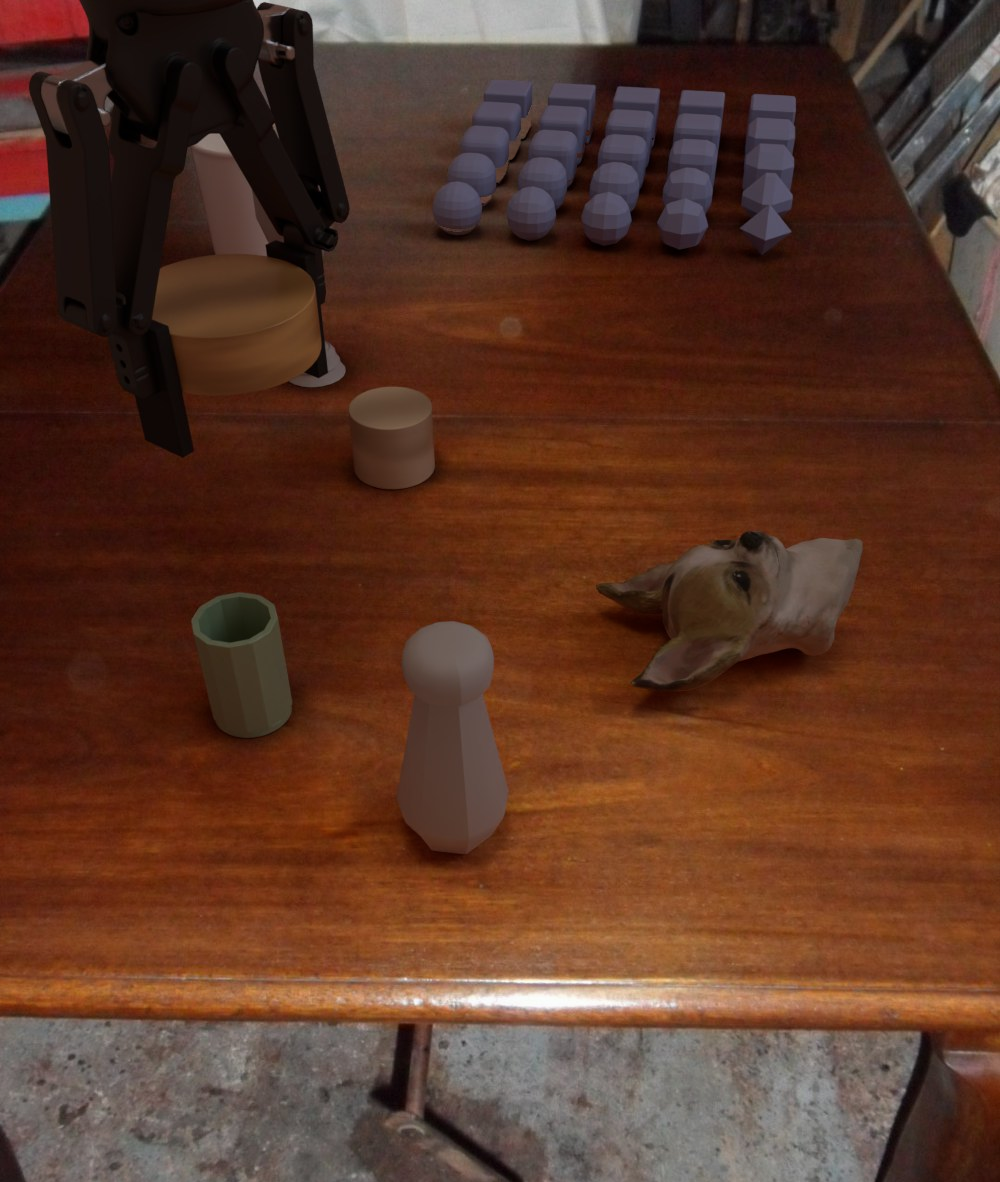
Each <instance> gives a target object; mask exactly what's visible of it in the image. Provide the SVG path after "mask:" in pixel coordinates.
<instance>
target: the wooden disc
mask: <svg viewBox="0 0 1000 1182" xmlns="http://www.w3.org/2000/svg"><path fill="white" fill-rule="evenodd" d="M152 320H155V321H157V322H160V323H162V324H165V325H167V326H168V327H169V331H170V336H171V341H172V346H173V351H174V356H175V360H176V365H177V370H178V375H179V380H180V385H181V389H182V394H187V395H192V396H201V397H230V396H239V395H247V394H252V393H258V392H261V391H265V390H269V389H272V388H275V387H279V386H280V385H284V384H286V383H288V382H289V381H290V380H292V379H294V378H296V377H298V376H299V375H301V374H302V373H304V372H305V371H306V370H307V369H309V368H310V367H311V366H312V365H313V364H314V362H315V361H316V360H317V358H318V356H319V354H320V351H321V344H322V342H321V334H320V325H319V316H318V307H317V298H316V289H315V284H314V282H313V280H312V278H311V277H310V276H309V275H308V273H307V272H305V271H304V270H303V269H301V268H300V267H298V266H296V265H294V264H292V263H289V262H287V261H284V260H280V259H277V258H272V257H268V256H261V255H251V254H219V255H215V254H209V255H203V256H197V257H192V258H187V259H184V260H180V261H179V260H178V261H176V262H173V263H170V264H167V265H164V266H162V267H160V271H159V278H158V284H157V290H156V297H155V303H154V309H153V316H152Z"/></svg>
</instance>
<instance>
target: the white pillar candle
mask: <svg viewBox="0 0 1000 1182" xmlns="http://www.w3.org/2000/svg"><path fill="white" fill-rule="evenodd" d="M433 419H434V417H433V404H432V401H431V400H430V398H429V397H428V396H427V395H426V394H424V393H423V392H421V391H419V390H417V389H413V388H409V387H404V386H382V387H376V388H372V389H369V390H366V391H364V392H361V393H360V394H358V395H357V396H355V397H354V398H353V399H352V400H351V402H350V403H349V405H348V421H349V430H350V431H349V432H350V439H351V440H350V441H351V450H352V461H353V470H354V473H355V476H356V477H357V478H358V479H359V480H360V481H361V482H362V483H364V484H365V485H367V486H370V487H373V488H376V489H382V490H403V489H409V488H412V487H415V486H417V485H418V486H419V485H420V484H422V483H424V482H425V481H426V480H428V479H429V478H431V476H432V474H433V473H434V471H435V469H436V460H435V459H436V458H435V439H434V438H435V436H434V420H433Z"/></svg>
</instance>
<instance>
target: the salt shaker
mask: <svg viewBox="0 0 1000 1182" xmlns="http://www.w3.org/2000/svg"><path fill="white" fill-rule="evenodd" d="M401 655H402V656H401V662H400V665H401V672H402V676H403V678H404V681H405V683H406V685H407V688H408V690H409V691H410V693H411V694H413V701H412V708H411V713H410V718H409V722H408V723H409V725H408V729H407V735H406V741H405V747H404V753H403V758H402V759H403V760H402V763H401V764H402V765H401V769H400V775H399V781H398V785H397V792H396V799H395V800H396V801H397V803H398V807H399V810H400V812H401V815H402V818H403V820H404V823H405V824H406V825H407V826H408V827H409V828H410V829H412V831H414V832H415V833H416V834H417V835H418V836H419V837H420V838H421V839H422V840H423V842H425V844H426V845H427V847H428V848H429V849H430V850H431V851H432V852H439V853H449V854H458V855H468V854H469V853H471V852H472V851H473V850H474V849H475V848H477V847H478V846H480V845H481V844H483V843H484V842H485V841H487V840H489V838H491V837H492V836H493V834H494V833H495V831H496V830H497V828H498V827H499V825H500V824H501V823H502V820H503V819H504V818H505V814H506V809H507V803H508V800H509V799H508V798H509V793H510V790H509V787H508V786H509V785H508V782H507V779H506V776H505V771H504V768H503V764H502V761H501V757H500V754H499V749H498V745H497V742H496V739H495V735H494V731H493V728H492V724H491V720H490V716H489V713H488V709H487V705H486V701H485V697H484V694H485V692H486V691H487V690H488V689H489V688H490V686H491V684H492V680H493V676H494V670H495V654H494V651H493V648H492V645H491V643H490V641H489V638H488V636H487V635H486V634H484V633H483V632H481V631H480V630H478V629H477V628H476V627H474V626H472V625H470V624H466V623H464V622H458V621H455V620H449V621H437V622H434V623H431V624H428V625H426V626H423V627H421V628H419V629H417V630H416V631H415V632H414V633H413V634H412V635H411V636H410V637H408V639H407V640H406V642H405V646H404V648H403V651H402V654H401Z"/></svg>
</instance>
